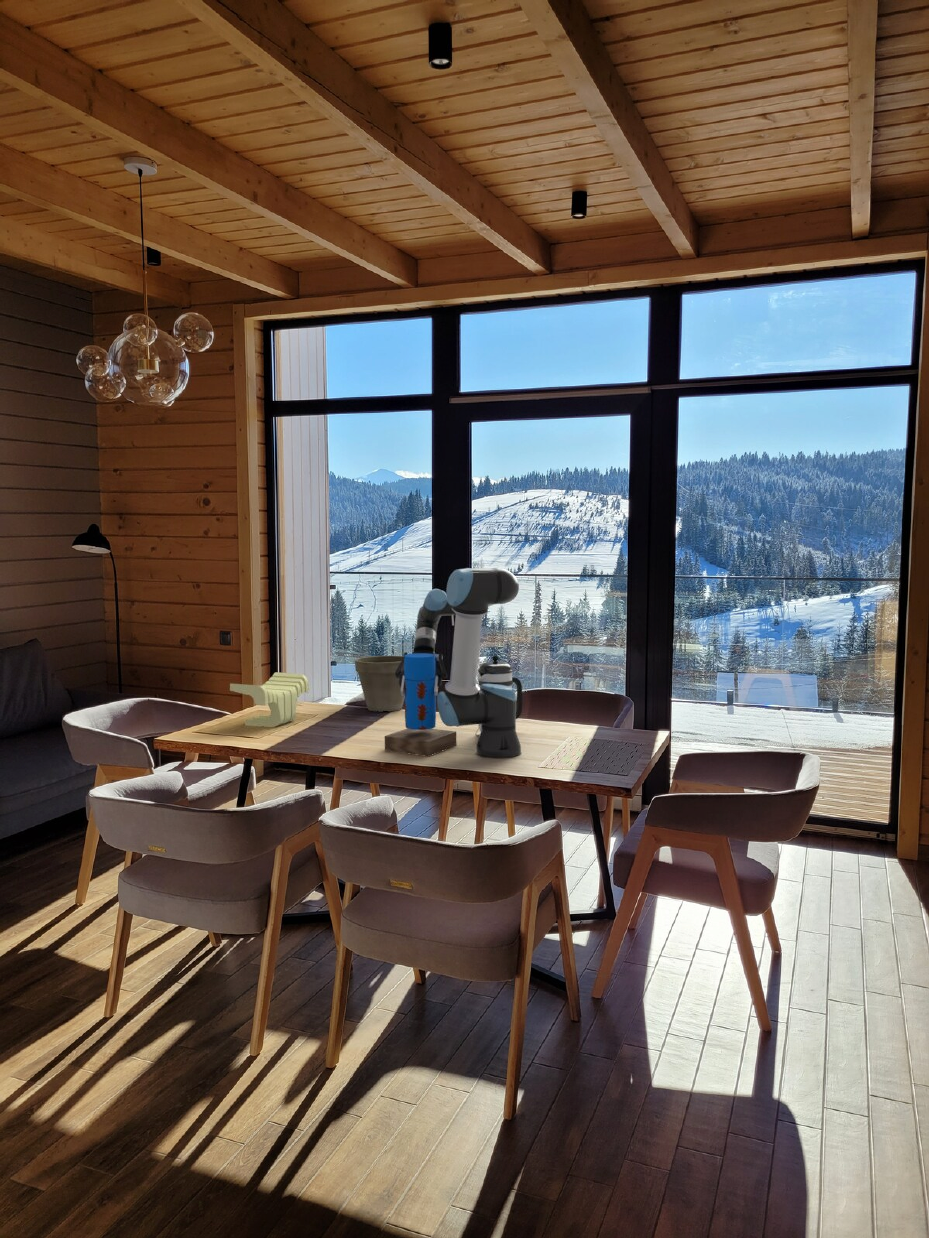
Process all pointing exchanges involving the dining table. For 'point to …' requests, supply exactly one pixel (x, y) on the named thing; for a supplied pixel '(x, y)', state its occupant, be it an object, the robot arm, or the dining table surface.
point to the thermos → (420, 691)
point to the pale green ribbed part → (275, 697)
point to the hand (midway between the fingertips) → (418, 693)
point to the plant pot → (380, 682)
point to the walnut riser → (420, 741)
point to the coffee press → (499, 679)
